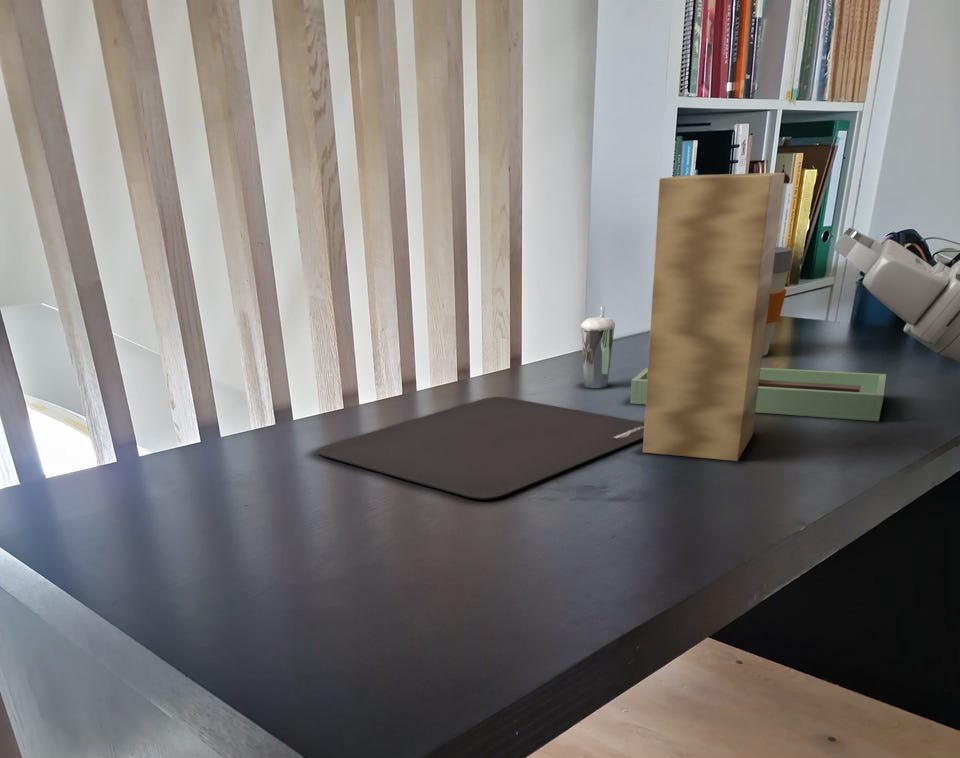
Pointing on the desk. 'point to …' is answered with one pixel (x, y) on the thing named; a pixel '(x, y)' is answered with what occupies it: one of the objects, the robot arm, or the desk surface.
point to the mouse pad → (487, 446)
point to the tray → (806, 394)
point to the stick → (809, 385)
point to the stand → (709, 311)
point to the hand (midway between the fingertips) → (841, 236)
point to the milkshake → (597, 350)
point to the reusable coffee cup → (777, 292)
